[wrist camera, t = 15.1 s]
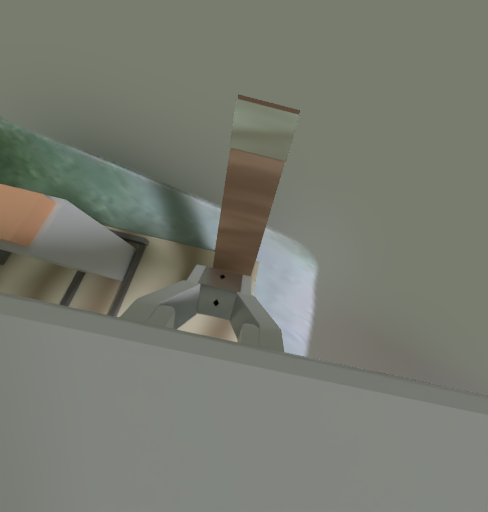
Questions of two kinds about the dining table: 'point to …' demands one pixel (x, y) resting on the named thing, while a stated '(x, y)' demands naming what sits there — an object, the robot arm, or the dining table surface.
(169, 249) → the panel
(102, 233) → the slider
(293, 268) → the dining table surface
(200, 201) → the dining table surface
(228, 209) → the wooden stick
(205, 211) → the dining table surface
